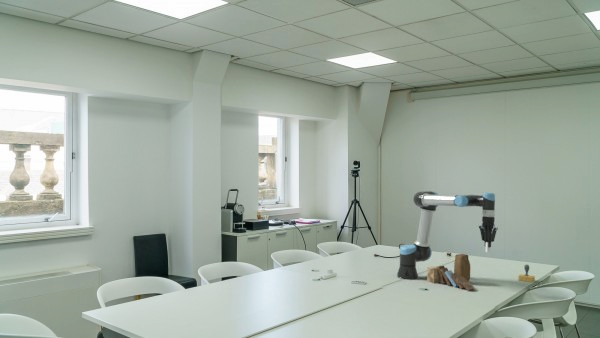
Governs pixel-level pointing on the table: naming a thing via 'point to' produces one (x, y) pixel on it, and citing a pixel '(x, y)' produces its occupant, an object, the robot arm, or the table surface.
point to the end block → (433, 275)
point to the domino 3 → (451, 278)
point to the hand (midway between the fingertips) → (487, 251)
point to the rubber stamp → (526, 275)
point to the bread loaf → (462, 266)
